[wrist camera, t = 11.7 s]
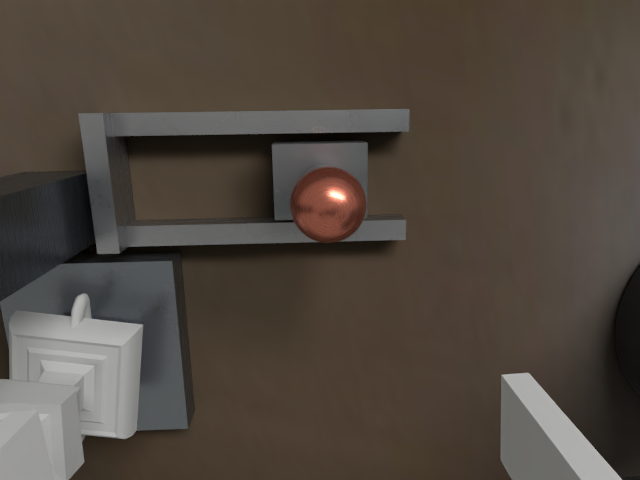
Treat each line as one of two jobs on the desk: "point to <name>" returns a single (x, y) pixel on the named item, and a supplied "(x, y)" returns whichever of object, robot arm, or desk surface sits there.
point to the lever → (321, 186)
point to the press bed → (95, 284)
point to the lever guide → (112, 128)
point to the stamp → (73, 379)
